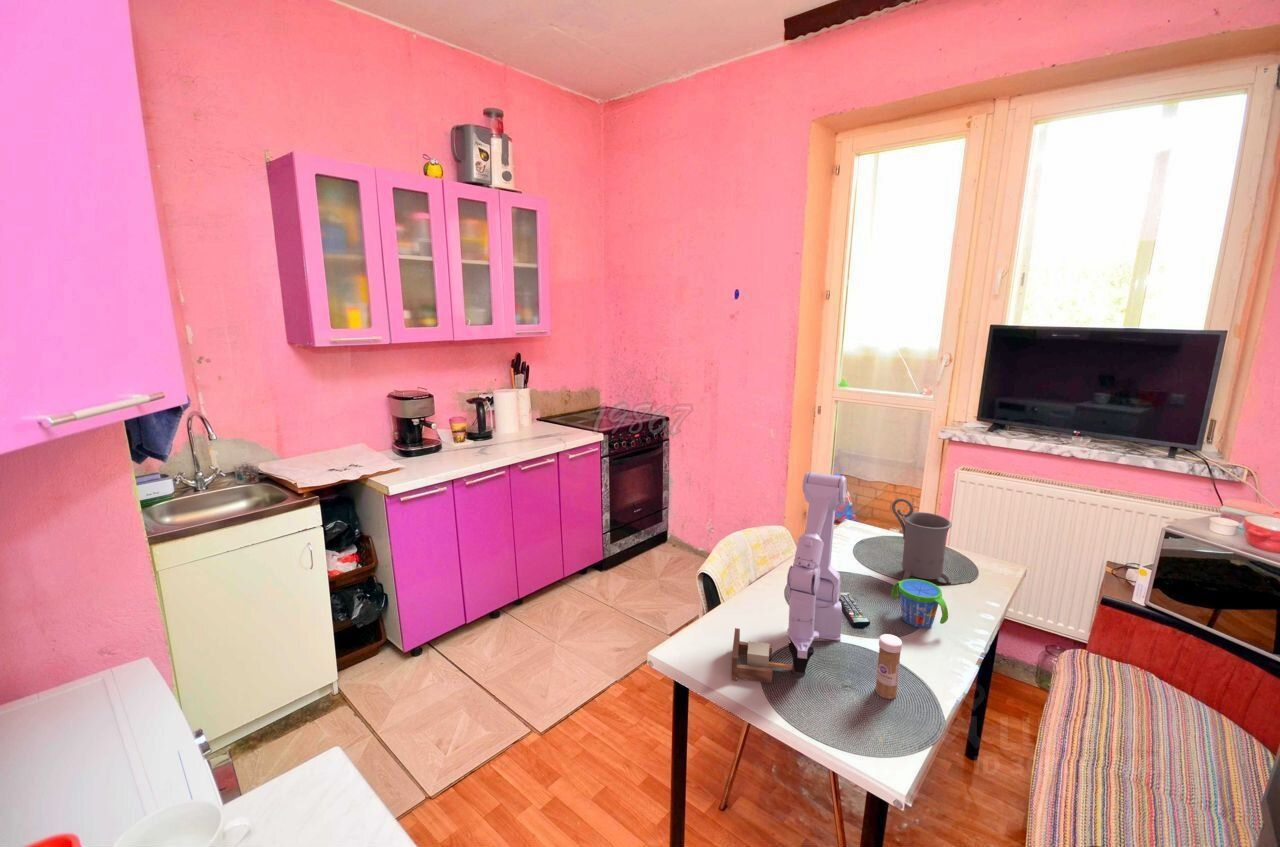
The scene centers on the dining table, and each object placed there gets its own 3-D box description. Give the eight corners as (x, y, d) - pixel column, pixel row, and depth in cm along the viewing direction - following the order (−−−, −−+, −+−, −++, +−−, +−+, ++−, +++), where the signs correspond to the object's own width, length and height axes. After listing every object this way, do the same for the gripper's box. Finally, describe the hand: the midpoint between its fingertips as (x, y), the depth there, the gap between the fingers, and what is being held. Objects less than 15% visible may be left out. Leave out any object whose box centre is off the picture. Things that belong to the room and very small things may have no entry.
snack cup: (880, 611, 153) (883, 578, 151) (908, 603, 157) (911, 571, 155) (926, 641, 139) (929, 605, 137) (956, 632, 142) (960, 597, 140)
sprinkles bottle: (872, 693, 120) (876, 640, 118) (878, 683, 124) (883, 630, 121) (894, 703, 118) (899, 648, 115) (899, 691, 121) (904, 638, 118)
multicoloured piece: (804, 666, 130) (805, 644, 129) (805, 680, 125) (806, 657, 124) (747, 659, 133) (748, 637, 132) (746, 672, 128) (747, 649, 127)
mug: (954, 574, 173) (962, 501, 168) (947, 594, 162) (956, 515, 157) (892, 559, 184) (897, 490, 179) (881, 577, 173) (887, 503, 168)
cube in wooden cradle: (771, 653, 135) (772, 632, 134) (771, 685, 124) (772, 662, 122) (734, 649, 137) (735, 628, 136) (731, 680, 126) (731, 657, 124)
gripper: (822, 635, 117) (819, 689, 120) (817, 600, 131) (814, 650, 133) (789, 631, 119) (786, 685, 121) (787, 597, 132) (785, 646, 135)
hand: (799, 666), depth 128 cm, fingers closed on multicoloured piece, 3 cm apart
